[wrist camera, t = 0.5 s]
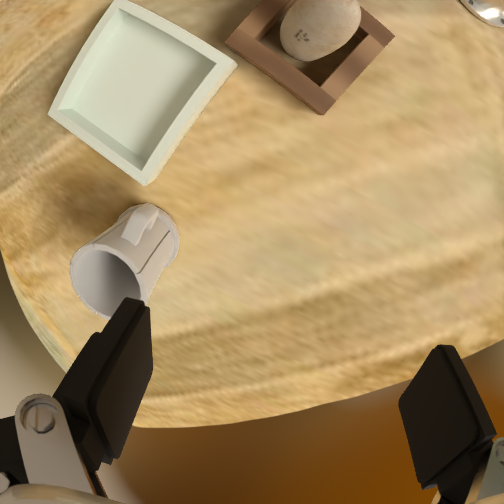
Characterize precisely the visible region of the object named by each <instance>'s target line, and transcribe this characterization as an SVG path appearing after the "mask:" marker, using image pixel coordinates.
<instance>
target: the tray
mask: <svg viewBox="0 0 504 504" xmlns="http://www.w3.org/2000/svg"><path fill="white" fill-rule="evenodd" d="M237 67H238V64H237V63H236V62H235V61H234V60H232V59H231V58H229V57H228V56H226V55H225V54H223V53H222V52H220V51H219V50H217V49H215V48H214V47H212V46H211V45H209V44H207V43H206V42H204V41H203V40H201V39H199V38H198V37H196V36H194V35H192V34H191V33H189V32H187V31H186V30H184V29H182V28H180V27H179V26H177V25H175V24H173V23H171V22H170V21H168V20H166V19H164V18H162V17H160V16H158V15H156V14H155V13H153V12H151V11H149V10H147V9H145V8H143V7H141V6H139V5H137V4H134V3H132V2H130V1H128V0H114V1H113V2H112V4H111V5H110V7H109V8H108V9H107V11H106V12H105V14H104V15H103V16H102V18H101V19H100V21H99V22H98V24H97V25H96V27H95V28H94V30H93V31H92V33H91V34H90V36H89V38H88V39H87V41H86V42H85V44H84V46H83V47H82V49H81V51H80V52H79V54H78V56H77V57H76V59H75V61H74V63H73V64H72V66H71V68H70V70H69V72H68V74H67V75H66V77H65V79H64V81H63V83H62V85H61V87H60V89H59V91H58V93H57V95H56V97H55V99H54V101H53V103H52V106H51V108H50V110H49V112H48V115H49V116H50V117H52V118H53V119H54V120H56V121H57V122H58V123H60V124H61V125H62V126H64V127H65V128H66V129H68V130H69V131H70V132H72V133H73V134H74V135H76V136H77V137H78V138H80V139H81V140H82V141H84V142H85V143H86V144H88V145H89V146H90V147H92V148H93V149H94V150H96V151H97V152H99V153H100V154H101V155H103V156H104V157H105V158H107V159H108V160H109V161H111V162H112V163H113V164H115V165H116V166H117V167H119V168H120V169H121V170H123V171H124V172H126V173H127V174H128V175H130V176H131V177H132V178H134V179H135V180H136V181H138V182H139V183H140V184H142V185H143V186H146V185H147V184H149V183H150V182H152V181H153V180H155V179H156V178H157V177H158V175H159V173H160V172H161V170H162V169H163V167H164V166H165V164H166V163H167V161H168V160H169V158H170V157H171V155H172V154H173V152H174V151H175V149H176V148H177V146H178V145H179V143H180V142H181V141H182V139H183V138H184V136H185V135H186V133H187V132H188V131H189V129H190V128H191V126H192V125H193V124H194V122H195V121H196V119H197V118H198V117H199V115H200V114H201V113H202V111H203V110H204V109H205V107H206V106H207V105H208V103H209V102H210V101H211V99H212V98H213V97H214V95H215V94H216V93H217V92H218V90H219V89H220V88H221V86H222V85H223V84H224V83H225V81H226V80H227V79H228V78H229V76H230V75H231V74H232V73H233V72H234V70H235V69H236V68H237Z"/></svg>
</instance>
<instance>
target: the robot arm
mask: <svg viewBox="0 0 504 504" xmlns="http://www.w3.org/2000/svg"><path fill="white" fill-rule="evenodd" d="M460 1H461V2H462V3H463V4H464V5H465V7H466V8H467V9H468V10H469V11H470V12H472V13H473V14H474V15H475V16H476V17H478V18H479V19H480V20H482V21H483V22H485V23H487V24H489V25H492V26H494V27H504V0H460ZM152 372H153V357H152V342H151V323H150V308H149V307H147V306H145V303H144V301H142V300H138V299H134V298H129V297H125V298H124V299H123V301H122V302H121V304H120V305H119V307H118V308H117V310H116V311H115V313H114V314H113V316H112V317H111V318H110V320H109V321H108V323H107V324H106V326H105V327H104V329H103V331H102V332H101V333H99V332H95V333H93V334H92V336H91V337H90V338H89V340H88V341H87V343H86V344H85V346H84V347H83V349H82V350H81V352H80V353H79V355H78V356H77V358H76V360H75V361H74V363H73V364H72V366H71V367H70V369H69V370H68V372H67V374H66V375H65V377H64V378H63V380H62V382H61V383H60V385H59V387H58V388H57V390H56V391H55V393H54V395H53V396H52V397H51V396H49V395H46V394H33V395H30V396H27V397H26V398H25V399H23V400H22V401H21V402H20V403H19V405H18V406H17V409H16V411H15V416H11V417H7V418H3V419H0V504H125V503H121V502H117V501H114V500H111V499H109V498H108V496H107V494H106V492H105V490H104V488H103V486H102V484H101V481H100V479H99V477H98V475H97V472H96V471H97V470H99V467H100V465H101V462H104V463H107V464H110V465H111V463H112V461H113V458H116V459H118V458H119V457H120V455H121V452H122V450H123V447H124V444H125V441H126V439H127V436H128V434H129V431H130V429H131V426H132V423H133V421H134V418H135V416H136V413H137V411H138V408H139V405H140V403H141V400H142V398H143V395H144V393H145V390H146V388H147V385H148V383H149V381H150V378H151V375H152ZM399 410H400V413H401V417H402V420H403V424H404V428H405V431H406V435H407V439H408V443H409V446H410V451H411V455H412V459H413V463H414V467H415V472H416V476H417V480H418V482H419V483H421V487H422V490H424V489H429V488H434V487H435V486H437V485H438V491H437V493H436V495H435V497H434V499H433V501H432V503H431V504H504V437H500V438H498V439H496V440H495V441H494V442H492V439H493V438H494V437H495V436H496V435H497V433H496V430H495V428H494V426H493V423H492V421H491V419H490V417H489V415H488V412H487V410H486V408H485V406H484V403H483V402H482V399H481V397H480V395H479V393H478V391H477V389H476V387H475V385H474V383H473V381H472V379H471V377H470V375H469V373H468V371H467V369H466V367H465V366H464V364H463V362H462V360H461V358H460V356H459V354H458V352H457V351H456V349H455V347H454V346H452V345H437V346H436V347H435V349H432V351H431V352H430V354H429V355H428V357H427V358H426V360H425V362H424V363H423V365H422V366H421V368H420V369H419V371H418V372H417V374H416V375H415V377H414V378H413V380H412V381H411V383H410V384H409V386H408V387H407V389H406V390H405V391H404V393H403V394H402V395H401V397H400V399H399Z"/></svg>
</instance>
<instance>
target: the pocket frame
mask: <svg viewBox="0 0 504 504" xmlns="http://www.w3.org/2000/svg"><path fill="white" fill-rule="evenodd" d="M296 1H297V0H262V1H261V2H260V3H259V4H258V5H257V6H256V8H255V9H254V10H253V11H252V12H251V13H250V14H249V15H248V16H247V17H246V18H245V19H244V20H243V22H242V23H241V24H240V25H239V26H238V27H237V28H236V29H235V31H234V32H233V33H232V34H231V35H230V36H229V37H228V39H227V40H226V41H225V42H224V43H225V44H226V45H227V46H228V48H229V49H230V50H232V51H234V52H235V53H237V54H238V55H240V56H241V57H243V58H244V59H246V60H247V61H248V62H250V63H251V64H253V65H254V66H256V67H257V68H259V69H260V70H261V71H263V72H264V73H266V74H267V75H268V76H270V77H271V78H272V79H274V80H275V81H276V82H278V83H279V84H281V85H282V86H283V87H284V88H286V89H287V90H288V91H290V92H291V93H292V94H294V95H295V96H296V97H297V98H299V99H300V100H301V101H302V102H304V103H305V104H306V105H307V106H309V107H310V108H311V109H312V110H314V111H315V112H316V113H317V114H318V115H324V114H325V113H326V112H327V111H328V110H329V109H330V107H331V106H332V105H333V104H334V103H335V102H336V101H337V99H338V98H339V97H340V96H341V95H342V94H343V93H344V92H345V90H346V89H347V88H348V87H349V86H350V85H351V84H352V83H353V82H354V80H355V79H356V78H357V77H358V76H359V75H360V74H361V73H362V72H363V70H364V69H365V68H366V67H367V66H368V65H369V64H370V63H371V62H372V61H373V59H374V58H375V57H376V56H377V55H378V54H379V53H380V52H381V51H382V50H383V49H384V48H385V46H386V45H387V44H388V43H389V42H390V41H391V40H392V39H393V38H394V37H395V35H393V34H392V33H391V32H390V31H389V30H388V29H387V28H386V27H385V26H383V25H382V24H381V23H380V22H379V21H378V20H376V19H375V18H374V17H373V16H372V15H370V14H369V13H368V12H367V11H366V10H364V9H363V8H362V7H361V6H360V9H361V21H360V24H359V26H358V29H357V30H356V32H355V33H354V36H355V37H357V38H358V39H359V40H360V42H359V43H358V44H357V45H356V46H355V47H354V48H353V49H352V50H351V51H350V52H349V53H348V54H347V55H346V57H345V58H344V59H343V60H342V61H341V62H340V63H339V64H338V65H337V66H336V67H335V69H334V70H333V71H332V72H331V73H330V74H329V75H328V76H327V77H326V79H325V80H324V81H323V82H322V83H321V84H320V85H319V86H318V85H317V84H316V83H314V82H313V81H312V80H311V79H309V78H308V77H307V76H306V75H304V74H303V73H302V72H300V71H299V70H298V69H296V68H295V67H294V66H292V65H291V64H290V63H288V62H287V61H286V60H284V59H283V58H282V57H280V56H279V55H277V54H276V53H275V52H273V51H272V50H270V49H269V48H267V47H266V46H264V45H263V44H262V43H260V42H259V41H260V40H261V39H262V38H263V37H264V35H265V34H266V33H267V32H268V31H269V30H270V29H271V28H272V27H273V26H274V25H275V23H276V22H277V21H278V20H279V19H280V18H281V17H282V16H283V15H284V14H285V13H286V12H287V11H288V10H289V9H290V8H291V7H292V5H293V4H294V3H295V2H296Z"/></svg>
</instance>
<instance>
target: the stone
mask: <svg viewBox="0 0 504 504" xmlns="http://www.w3.org/2000/svg"><path fill="white" fill-rule="evenodd" d="M360 21H361V9H360V5H359V3H358V1H357V0H297V1H296V2H295V3H294V4H293V5H292V7H291V8H290V10H289V11H288V12H287V13H286V15H285V17H284V19H283V21H282V24H281V27H280V40H281V44H282V46H283V48H284V50H285V51H286V52H287V53H288V54H289V55H290V56H292V57H293V58H295V59H297V60H300V61H312V60H316V59H319V58H321V57H324V56H326V55H328V54H330V53H332V52H333V51H335V50H337V49H338V48H340V47H341V46H343V45H344V44H345V43H346V42H348V40H349V39H350V38H351V37H352V36H353V35H354V33H355V32H356V30H357V29H358V26H359V24H360Z"/></svg>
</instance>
